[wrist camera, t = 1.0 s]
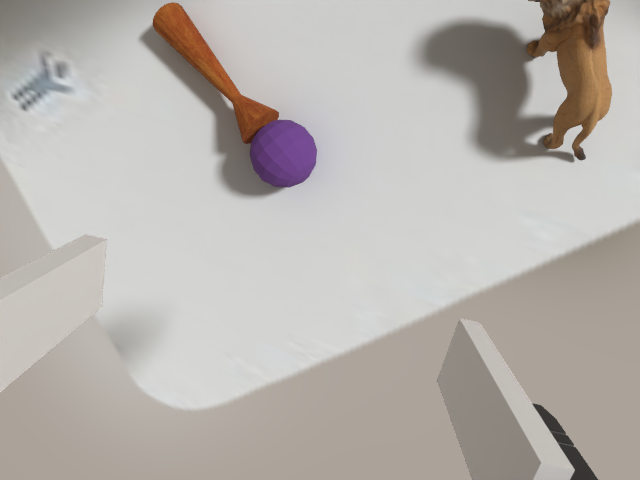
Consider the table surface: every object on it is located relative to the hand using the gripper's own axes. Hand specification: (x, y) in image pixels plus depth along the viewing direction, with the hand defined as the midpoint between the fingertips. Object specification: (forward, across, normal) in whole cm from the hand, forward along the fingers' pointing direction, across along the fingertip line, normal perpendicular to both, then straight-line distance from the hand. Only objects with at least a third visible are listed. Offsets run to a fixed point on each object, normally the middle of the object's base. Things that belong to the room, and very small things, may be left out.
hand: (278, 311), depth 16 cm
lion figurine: (+26, +18, +14) cm, 35 cm away
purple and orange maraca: (+29, -9, +6) cm, 31 cm away
